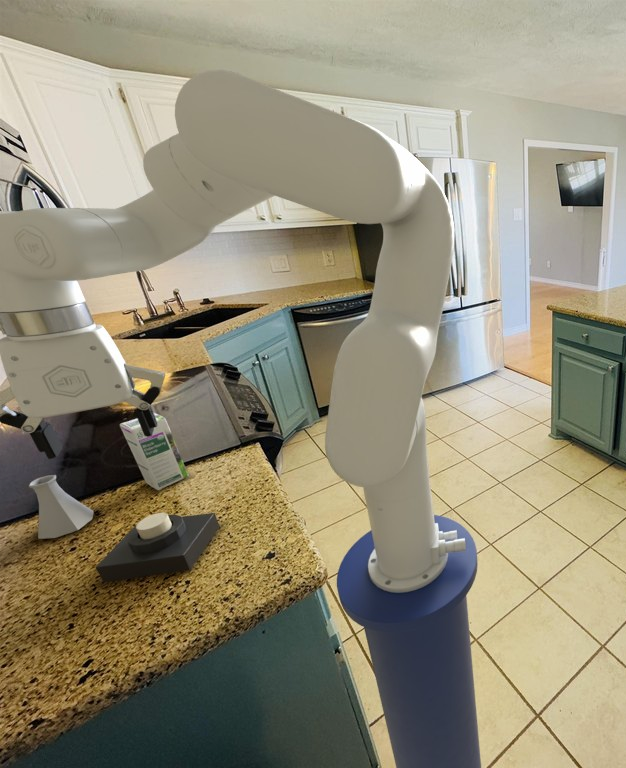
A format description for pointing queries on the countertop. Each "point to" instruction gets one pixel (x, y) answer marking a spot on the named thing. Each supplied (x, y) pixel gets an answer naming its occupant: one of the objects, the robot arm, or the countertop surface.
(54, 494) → the flask
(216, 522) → the dark grey button base
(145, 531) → the white push button
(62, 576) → the countertop surface
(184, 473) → the syrup box
